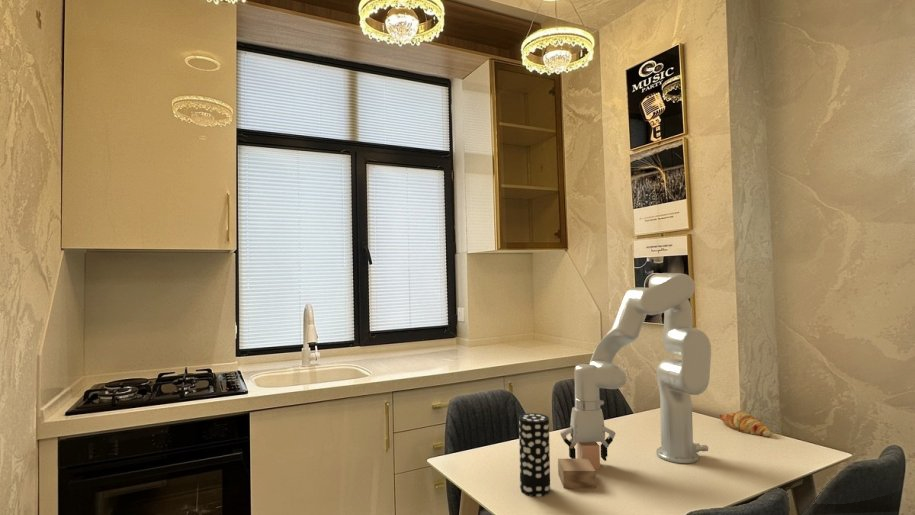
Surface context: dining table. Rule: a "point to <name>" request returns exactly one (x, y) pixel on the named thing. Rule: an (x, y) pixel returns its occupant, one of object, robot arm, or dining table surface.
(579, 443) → the peach matte cube
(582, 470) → the walnut block
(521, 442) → the white-spotted black cylinder
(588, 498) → the dining table surface
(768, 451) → the dining table surface
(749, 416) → the croissant
